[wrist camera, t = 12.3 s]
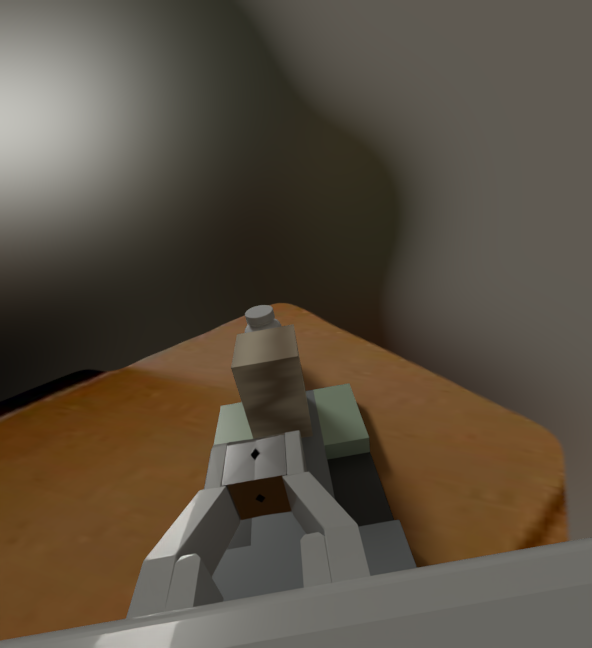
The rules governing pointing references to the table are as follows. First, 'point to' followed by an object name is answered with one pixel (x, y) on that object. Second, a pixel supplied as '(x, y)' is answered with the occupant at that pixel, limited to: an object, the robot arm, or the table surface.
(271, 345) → the birch block
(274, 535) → the board
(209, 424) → the table surface
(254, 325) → the pill bottle
